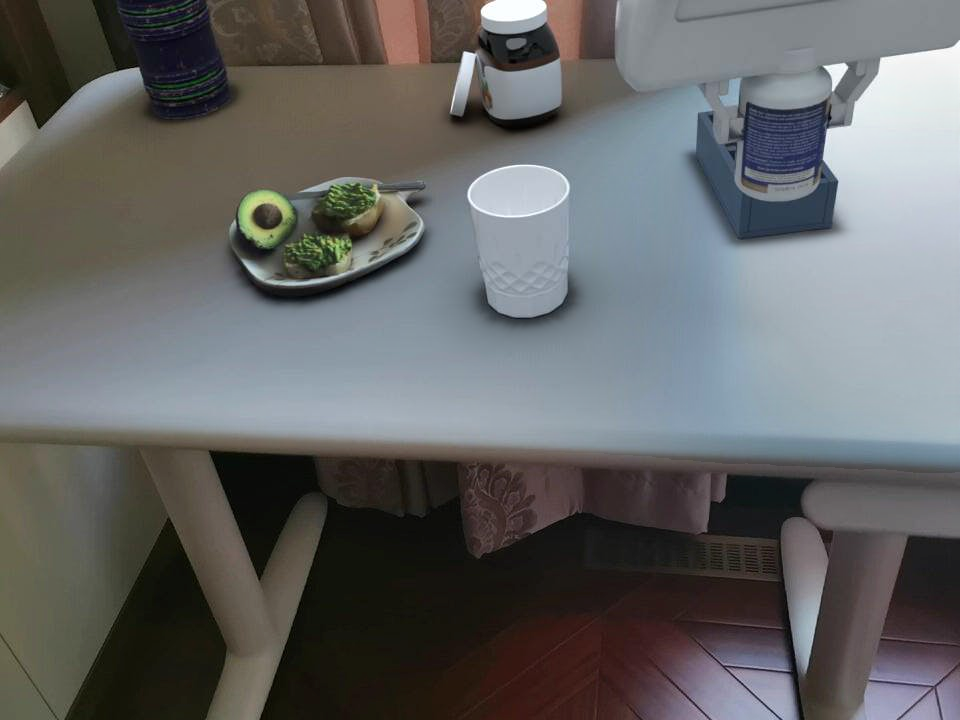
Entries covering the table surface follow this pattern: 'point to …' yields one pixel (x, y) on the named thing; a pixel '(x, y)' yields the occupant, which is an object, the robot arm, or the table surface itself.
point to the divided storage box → (753, 213)
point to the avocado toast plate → (323, 233)
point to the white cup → (522, 237)
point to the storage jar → (177, 56)
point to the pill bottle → (783, 129)
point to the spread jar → (513, 65)
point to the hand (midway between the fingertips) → (780, 131)
